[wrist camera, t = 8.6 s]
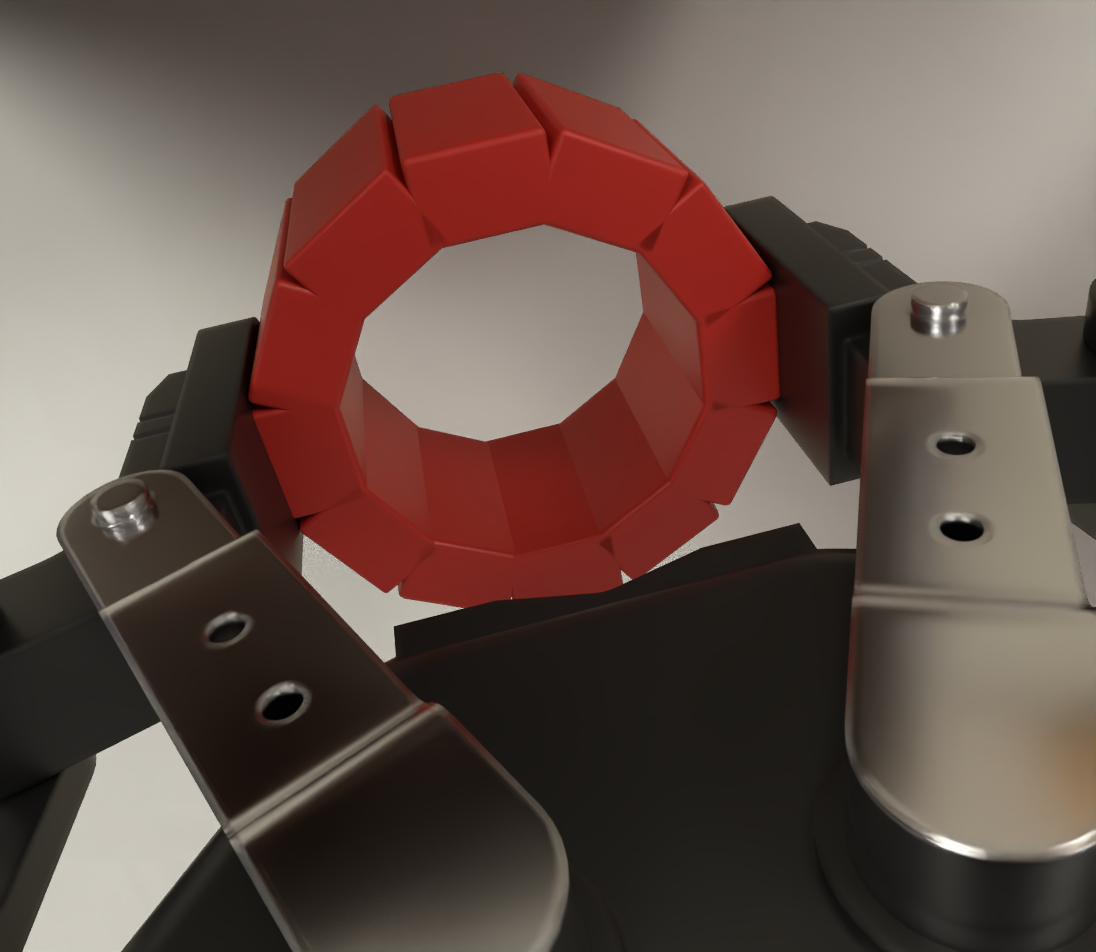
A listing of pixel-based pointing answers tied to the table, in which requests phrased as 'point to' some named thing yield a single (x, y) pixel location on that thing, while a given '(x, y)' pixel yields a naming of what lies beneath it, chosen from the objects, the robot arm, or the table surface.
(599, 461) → the ring
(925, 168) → the table surface
